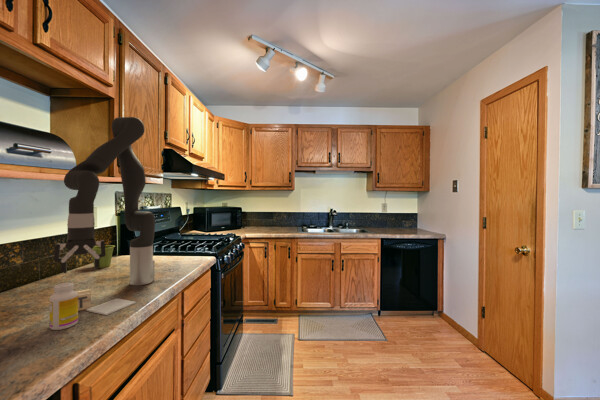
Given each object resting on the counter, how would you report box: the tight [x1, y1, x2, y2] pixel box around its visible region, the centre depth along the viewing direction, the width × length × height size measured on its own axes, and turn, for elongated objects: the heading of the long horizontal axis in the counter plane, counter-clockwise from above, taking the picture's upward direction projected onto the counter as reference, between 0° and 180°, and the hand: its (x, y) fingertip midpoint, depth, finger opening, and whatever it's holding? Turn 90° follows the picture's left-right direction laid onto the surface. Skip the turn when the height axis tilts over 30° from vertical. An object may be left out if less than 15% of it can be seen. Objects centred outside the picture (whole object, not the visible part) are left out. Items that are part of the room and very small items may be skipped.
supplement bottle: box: [48, 281, 79, 331], centre depth 83 cm, size 7×7×13 cm
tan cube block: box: [76, 288, 92, 312], centre depth 96 cm, size 6×6×6 cm
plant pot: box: [91, 244, 116, 269], centre depth 151 cm, size 12×12×11 cm
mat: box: [85, 297, 137, 316], centre depth 97 cm, size 11×10×1 cm
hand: (80, 270), depth 96 cm, fingers open, 8 cm apart
